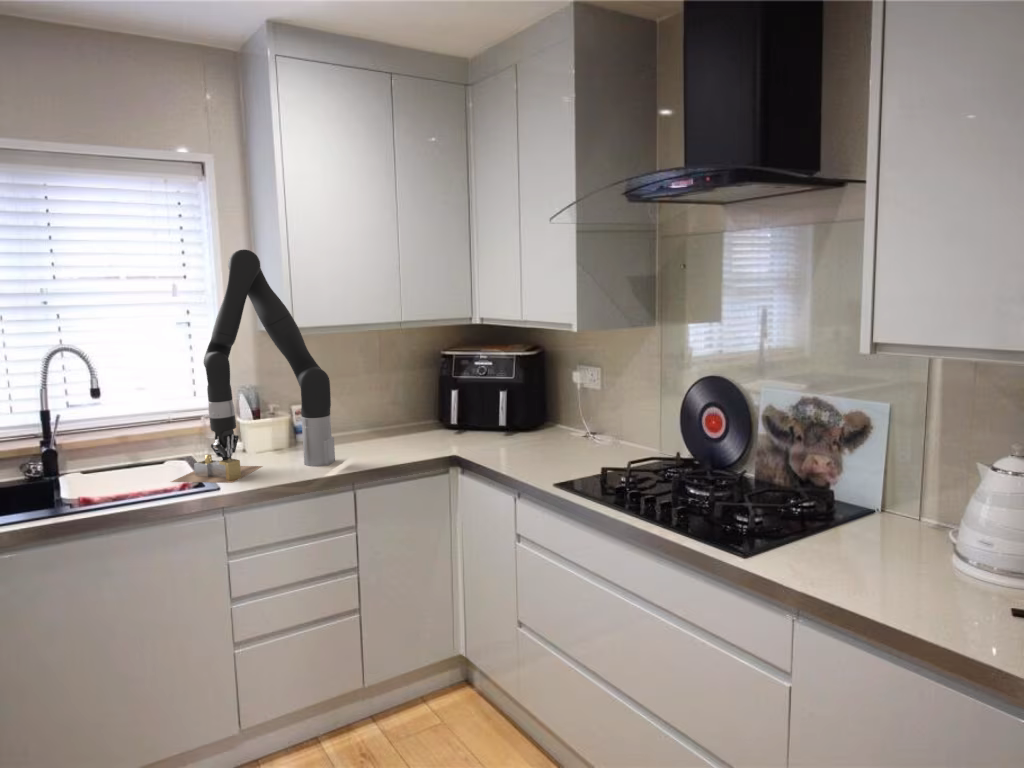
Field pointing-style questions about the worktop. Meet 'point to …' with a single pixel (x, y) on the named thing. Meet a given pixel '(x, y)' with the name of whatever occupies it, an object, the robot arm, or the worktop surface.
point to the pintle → (208, 458)
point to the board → (192, 478)
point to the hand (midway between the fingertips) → (228, 468)
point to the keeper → (231, 468)
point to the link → (210, 469)
